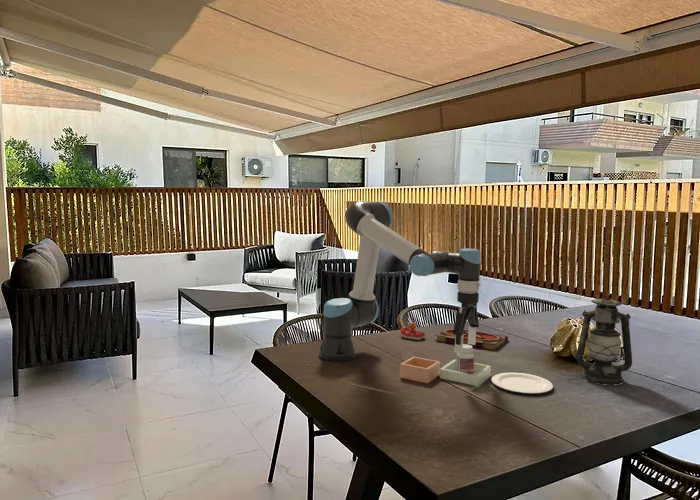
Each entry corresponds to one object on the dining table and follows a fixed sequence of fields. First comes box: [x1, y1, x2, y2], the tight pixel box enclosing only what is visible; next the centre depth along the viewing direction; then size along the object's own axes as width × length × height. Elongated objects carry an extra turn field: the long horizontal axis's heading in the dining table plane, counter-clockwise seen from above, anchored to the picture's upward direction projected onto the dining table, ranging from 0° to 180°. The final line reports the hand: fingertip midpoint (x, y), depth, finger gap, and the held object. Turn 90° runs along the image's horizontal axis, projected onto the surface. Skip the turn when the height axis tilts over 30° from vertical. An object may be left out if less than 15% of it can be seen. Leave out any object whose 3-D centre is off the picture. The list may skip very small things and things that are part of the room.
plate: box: [491, 372, 554, 395], centre depth 185 cm, size 21×21×2 cm
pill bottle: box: [456, 344, 475, 374], centre depth 191 cm, size 6×6×11 cm
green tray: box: [439, 358, 492, 389], centre depth 191 cm, size 14×14×4 cm
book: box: [434, 327, 509, 352], centre depth 243 cm, size 28×21×5 cm
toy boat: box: [400, 321, 426, 341], centre depth 247 cm, size 8×12×8 cm, turn 57°
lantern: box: [575, 298, 633, 386], centre depth 189 cm, size 19×19×30 cm
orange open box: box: [399, 356, 441, 384], centre depth 191 cm, size 11×11×6 cm
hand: (465, 348), depth 191 cm, fingers open, 13 cm apart
